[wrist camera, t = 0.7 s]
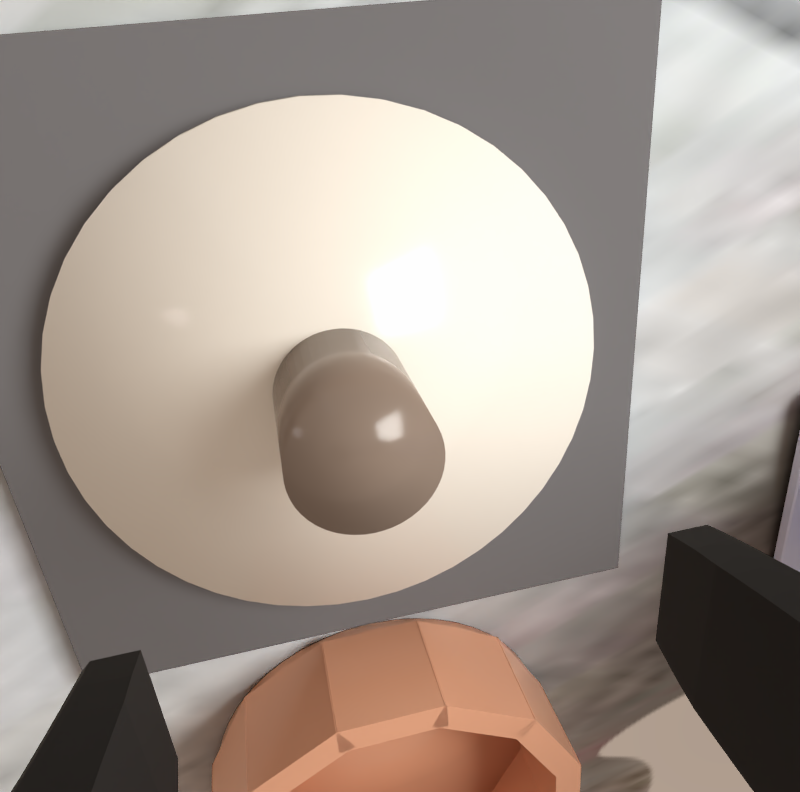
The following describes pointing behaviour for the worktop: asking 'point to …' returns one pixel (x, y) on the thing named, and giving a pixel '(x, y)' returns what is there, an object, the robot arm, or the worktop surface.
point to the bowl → (398, 718)
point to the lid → (317, 350)
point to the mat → (321, 75)
